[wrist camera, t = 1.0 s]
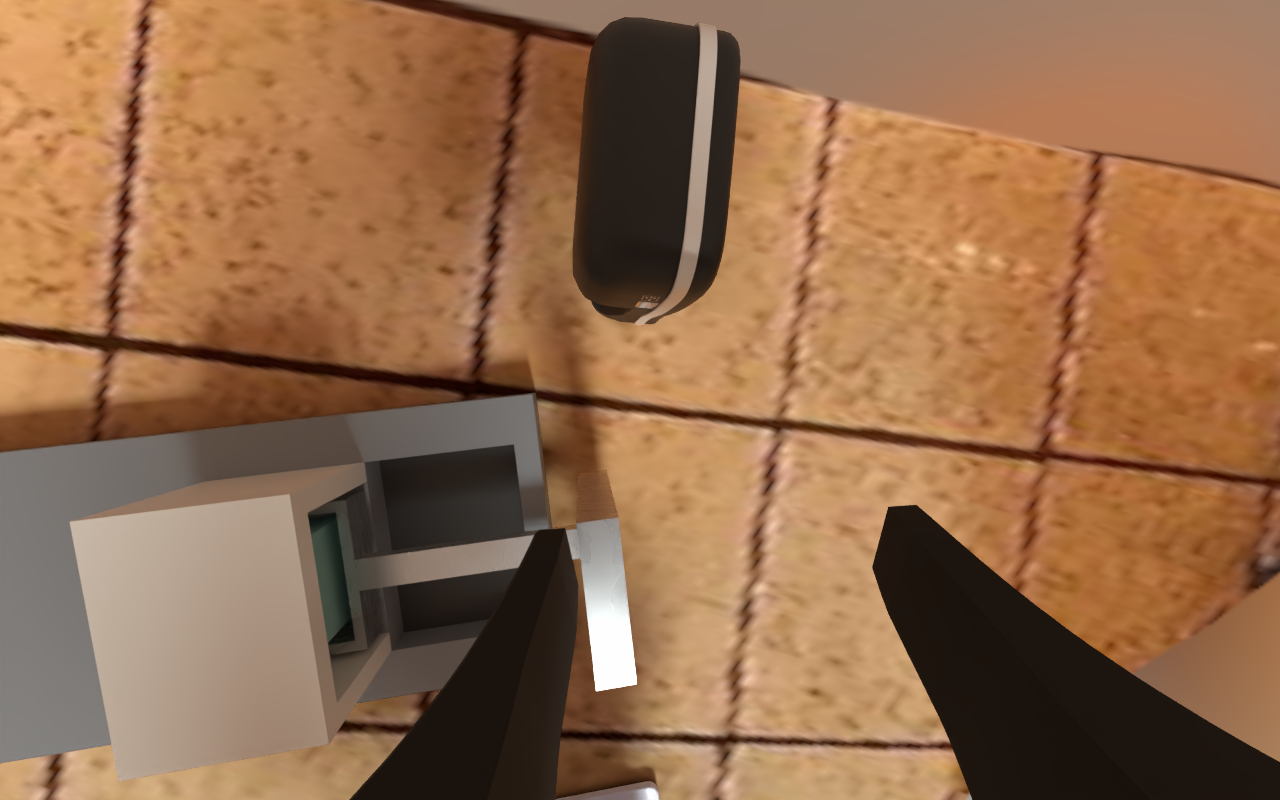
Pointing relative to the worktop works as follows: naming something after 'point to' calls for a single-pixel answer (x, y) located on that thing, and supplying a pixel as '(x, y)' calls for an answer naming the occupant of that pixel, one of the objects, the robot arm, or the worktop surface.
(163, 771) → the tunnel
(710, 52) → the battery charger
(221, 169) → the worktop surface
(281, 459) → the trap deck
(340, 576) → the block
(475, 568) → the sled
